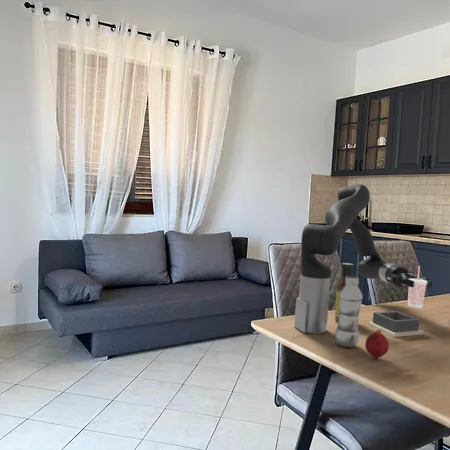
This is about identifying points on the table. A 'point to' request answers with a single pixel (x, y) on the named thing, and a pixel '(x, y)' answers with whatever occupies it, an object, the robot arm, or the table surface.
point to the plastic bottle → (349, 313)
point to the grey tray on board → (395, 324)
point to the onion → (376, 344)
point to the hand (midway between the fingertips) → (421, 284)
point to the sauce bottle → (342, 284)
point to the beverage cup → (417, 292)
